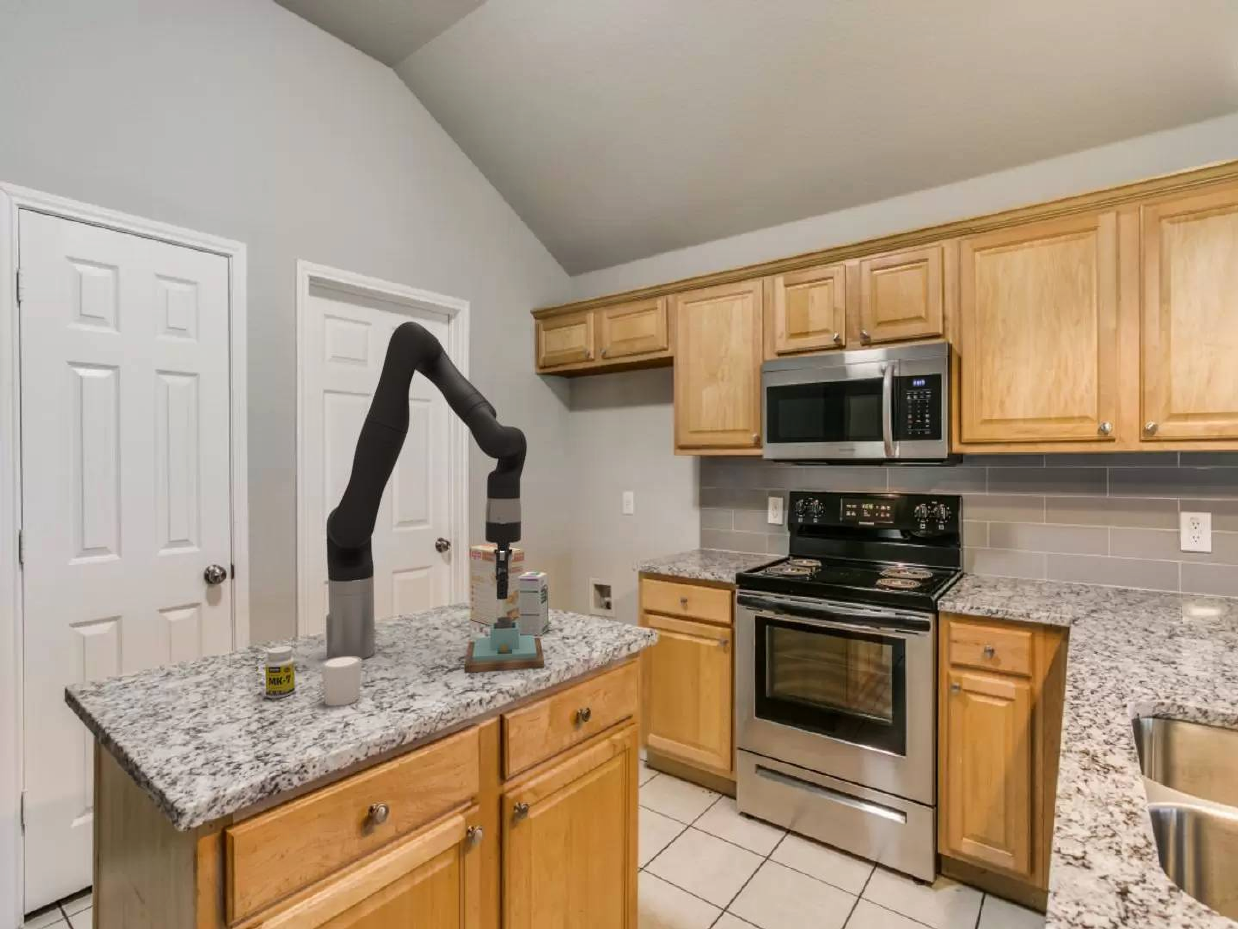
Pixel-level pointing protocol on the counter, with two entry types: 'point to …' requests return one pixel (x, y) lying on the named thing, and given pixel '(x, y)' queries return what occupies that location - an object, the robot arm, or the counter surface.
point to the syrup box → (533, 603)
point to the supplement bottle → (280, 672)
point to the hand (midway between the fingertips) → (502, 594)
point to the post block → (507, 664)
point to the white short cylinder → (341, 679)
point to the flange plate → (516, 644)
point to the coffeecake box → (493, 585)
